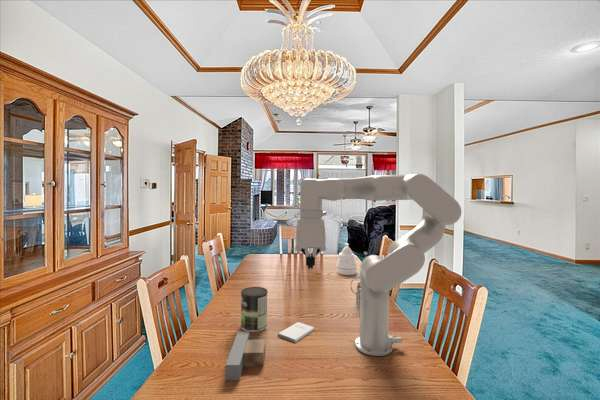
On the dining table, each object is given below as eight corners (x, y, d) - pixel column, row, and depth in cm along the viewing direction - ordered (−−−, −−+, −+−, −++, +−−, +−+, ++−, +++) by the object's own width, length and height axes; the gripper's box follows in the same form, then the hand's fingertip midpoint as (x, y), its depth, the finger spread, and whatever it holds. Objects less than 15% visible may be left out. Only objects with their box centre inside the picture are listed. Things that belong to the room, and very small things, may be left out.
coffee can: (244, 334, 115) (244, 297, 114) (238, 322, 125) (238, 288, 124) (270, 329, 119) (271, 293, 118) (263, 318, 129) (263, 285, 128)
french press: (375, 309, 139) (377, 254, 138) (349, 307, 141) (350, 253, 140) (375, 301, 149) (376, 250, 148) (350, 299, 151) (351, 249, 150)
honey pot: (336, 268, 207) (337, 242, 206) (356, 269, 205) (356, 242, 205) (336, 274, 195) (336, 245, 194) (357, 275, 193) (357, 246, 192)
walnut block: (265, 352, 103) (265, 339, 103) (263, 367, 95) (263, 352, 95) (247, 352, 103) (247, 339, 102) (243, 367, 95) (243, 352, 94)
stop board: (249, 344, 108) (249, 331, 108) (239, 380, 88) (239, 364, 88) (237, 344, 108) (237, 331, 108) (225, 380, 88) (225, 364, 88)
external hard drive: (277, 337, 114) (297, 325, 124) (295, 344, 109) (314, 331, 119) (277, 333, 114) (297, 321, 124) (295, 339, 109) (314, 327, 119)
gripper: (331, 213, 110) (330, 264, 111) (289, 213, 110) (288, 264, 111) (334, 216, 103) (333, 270, 104) (289, 215, 102) (288, 270, 103)
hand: (310, 267), depth 107 cm, fingers closed
